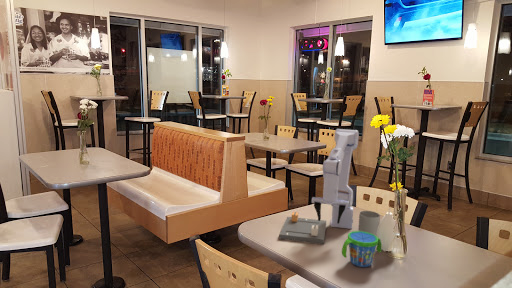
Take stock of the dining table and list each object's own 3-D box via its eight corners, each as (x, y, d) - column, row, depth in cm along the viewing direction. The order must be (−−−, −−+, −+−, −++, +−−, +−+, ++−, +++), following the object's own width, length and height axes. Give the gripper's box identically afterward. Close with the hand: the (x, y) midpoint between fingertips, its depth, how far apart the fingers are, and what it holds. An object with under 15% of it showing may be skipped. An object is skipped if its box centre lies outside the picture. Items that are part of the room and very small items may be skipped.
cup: (375, 233, 157) (377, 211, 155) (380, 241, 149) (382, 218, 147) (356, 232, 157) (357, 210, 156) (359, 240, 149) (361, 217, 148)
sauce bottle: (378, 244, 146) (382, 201, 143) (399, 249, 141) (403, 206, 138) (372, 251, 139) (376, 207, 136) (393, 257, 135) (397, 211, 132)
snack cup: (372, 254, 137) (374, 229, 135) (388, 268, 127) (390, 241, 125) (334, 258, 133) (336, 232, 132) (348, 272, 123) (349, 244, 122)
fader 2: (318, 232, 151) (318, 225, 150) (317, 236, 147) (317, 228, 146) (312, 231, 151) (312, 224, 151) (311, 235, 147) (311, 228, 147)
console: (326, 224, 165) (326, 220, 164) (323, 244, 145) (323, 239, 144) (287, 220, 169) (287, 216, 169) (279, 238, 149) (279, 234, 148)
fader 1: (298, 218, 165) (298, 212, 165) (296, 221, 162) (297, 215, 161) (292, 218, 166) (292, 211, 165) (291, 221, 162) (291, 214, 162)
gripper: (311, 189, 142) (309, 222, 145) (348, 193, 138) (346, 227, 140) (313, 185, 149) (312, 216, 151) (349, 189, 145) (347, 221, 147)
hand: (328, 221), depth 146 cm, fingers open, 7 cm apart
